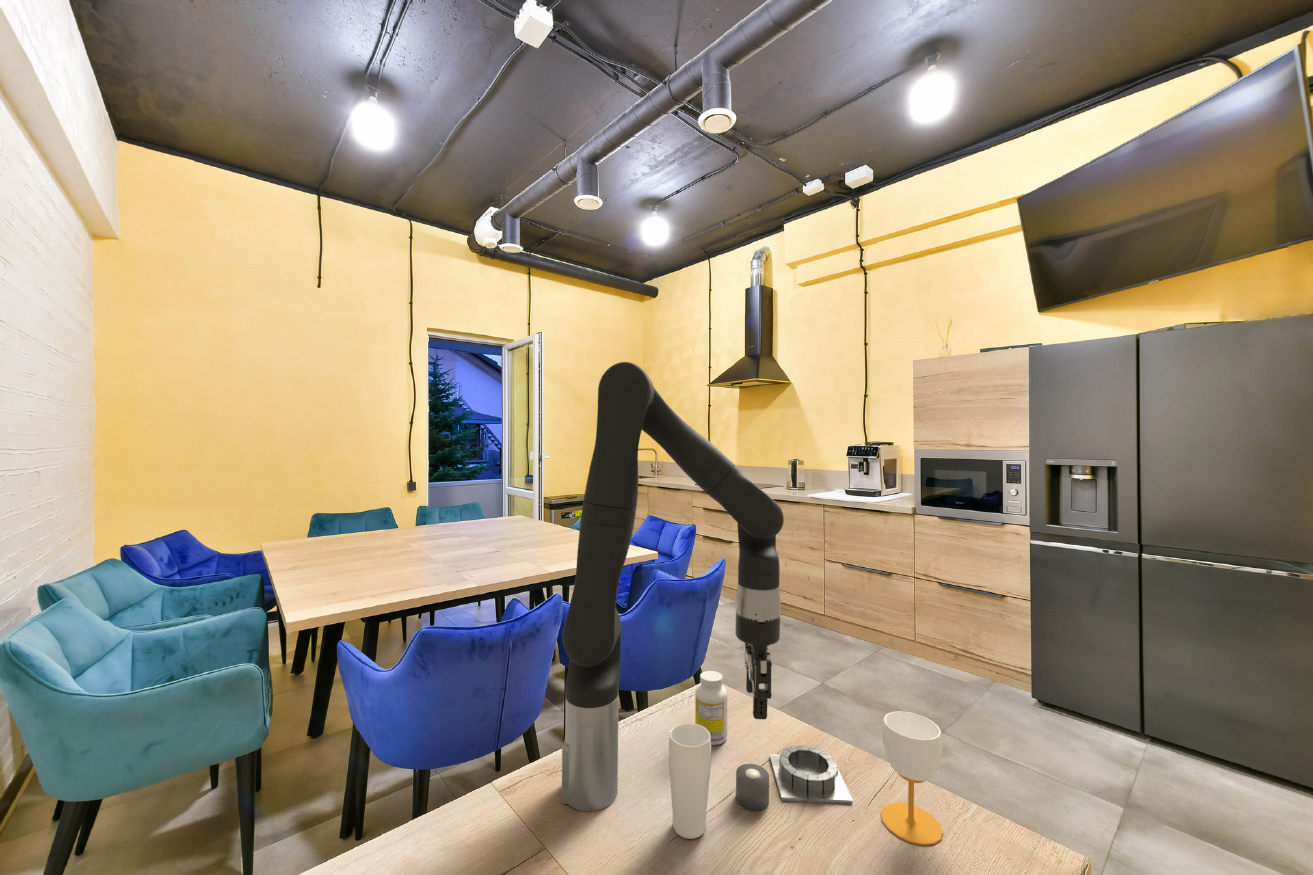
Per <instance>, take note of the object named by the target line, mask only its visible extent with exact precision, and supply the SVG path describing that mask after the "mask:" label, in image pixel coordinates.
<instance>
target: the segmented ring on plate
mask: <svg viewBox="0 0 1313 875" xmlns="http://www.w3.org/2000/svg"><path fill="white" fill-rule="evenodd" d="M768 756H769V762H770V764H771V767H772V772H773V774H774V778H775V783H776V786H777V789H778V792H779V797H780V799H781V802H799V803H800V802H802V803H803V802H804V803H825V804H826V803H827V804H828V803H829V804H847V805H848V804H851V805H852V804H853V798H852V796H851V794H850V792H849V790H848V787H847V785H846V783H845V781H844V779H843V778H842V775H841V773H840V771H839V766H838V764H837V763H836V760H835V758H834V757H833V756H832V755H830V754H828V753H827V752H826V751H824V750H822V749H820V748H816V747H814V746H810V745H803V744H802V745H799V744H796V745H792V746H789V747H786V748H784V749H783V750H782V751H781V753H780V754H779V753H769V755H768Z"/></svg>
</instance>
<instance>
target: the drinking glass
mask: <svg viewBox="0 0 1313 875" xmlns="http://www.w3.org/2000/svg"><path fill="white" fill-rule="evenodd" d="M668 736H669V738H668V768H669V769H668V770H669V781H670V794H671V809H672V811H671V812H672V828H673V830H674V832H675V833H676V834H677V835H678V836H679V837H681V838H683V839H687V840H694V839H695V840H696V839H698V838H699V837H701V836H702V835H703V834H704V833H705V831H706V828H707V810H708V800H709V787H710V778H711V777H710V776H711V765H712V745H711V735H710V732H709V731H708V730H707V729H706V728H705V727H703V726H701V725H698V724H695V723H693V722H688V723H687V722H686V723H685V722H684V723H679V724H677V725H675V726H674V727H672V729H670V731H669V735H668Z"/></svg>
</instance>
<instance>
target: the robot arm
mask: <svg viewBox="0 0 1313 875" xmlns="http://www.w3.org/2000/svg"><path fill="white" fill-rule="evenodd" d="M596 414H597V417H596V431H595V432H596V434H595V441H594V442H595V443H594V448H593V451H592V452H593V453H592V457H591V461H590V465H589V469H588V475H587V478H586V479H587V480H586V485H585V490H584V491H585V492H584V495H583V496H584V497H583V502H582V508H581V516H580V524H579V533H578V542H577V543H578V544H577V552H576V553H577V554H576V568H575V570H576V571H575V580H574V583H573V584H574V586H573V591H572V594H571V598H570V602H569V607H568V611H567V614H566V618H565V623H564V625H563V629H562V634H561V635H562V645H563V648H564V651H565V653H566V655H567V657H568V659H569V663H568V670H567V674H566V680H565V693H564V694H565V724H564V725H565V728H564V730H565V732H564V733H565V734H564V736H565V737H564V740H563V741H564V742H563V745H562V747H561V804H563V805H565V804H566V805H568V806H570V807H572V809H575V810H578V811H583V812H595V811H599V810H602V809H604V808H606V807H607V806H610V805H611V804H612V803H613V802H614V801H615V799H616V798H617V795H618V787H619V785H618V784H619V776H618V775H619V687H620V685H619V683H620V675H621V655H622V654H621V653H622V651H621V650H622V648H621V647H622V646H621V645H622V621H621V615H620V614H619V611H618V609H617V595H618V590H619V582H620V579H621V575H622V573H623V569H624V566H625V563H626V559H627V556H628V552H629V549H630V545H631V541H632V536H633V532H634V527H635V520H636V513H637V508H638V506H637V505H638V496H639V494H638V493H639V445H640V438H641V435H642V431H643V432H644V433H645V434H647V435H648V436H649V437H650V438H651V439H652V440H654V442H656V443H657V444H658V445H659V446H660V447H661V448H662V450H664V451H665V453H666V454H667V455H668V456H669V457H670V458H671V459H672V460H673V461H674V462H675V463H676V465H677V466H678V467H679V468H680V469H681V470H682V471H683V472H684V473H685V475H687V477H689V479H691V480H692V481H693V482H694V483H695V484H696V486H698V487H699V488H700V489H701V490H702V491H703V492H704V493H705V494H707V495H708V496H709V497H710V498H711V499H713V500H714V501H715V502H717V503H718V504H719V505H721V507H722V508H723V509H724V510H725V511H726V512H727V513H728V515H730V516H731V518H733V520H734V521H735V522H736V523H737V536H738V539H737V540H738V548H739V549H738V550H739V553H738V554H739V555H738V565H737V566H738V568H737V569H738V570H737V574H738V575H737V588H736V596H735V597H736V598H735V633H734V634H735V637H736V638H737V639H738V640H739V641H741V642H743V643H744V646H743V651H744V653H743V661H744V664H745V665H744V668H745V671H746V673H745V674H746V675H745V676H746V677H745V678H746V680H745V681H746V682H745V689H746V690H745V691H747V692H746V693H749V694H752V696H753V697H752V698H753V699H752V702H753V703H752V704H753V705H752V716H753V718H754V719H755V720H766V719H767V718H768V700H771V699H772V695H773V693H772V666H773V663H772V660H771V658H772V657H771V652H769V651H768V649H769V648H768V647H769V646H771V645H775V644H777V643H778V642H779V640H780V637H781V636H780V634H781V593H780V574H781V573H780V570H781V569H780V558H779V554H778V552H777V547H776V546H777V535H778V534H779V533H780V531H781V530H782V529H783V525H784V523H785V522H784V521H785V519H784V512H783V510H782V508H781V506H780V505H779V504H778V502H776V500H775V499H773V498H772V497H771V496H770V495H769V494H767V493H766V492H765V491H764V490H762V489H761V488H760V487H759V486H758V485H757V484H755V482H753V481H752V480H750V479H749V478H748V477H747V476H746V475H745V474H744V473H743V472H742V470H741V469H740V468H739V467H738V466H737V465H736V464H735V463H734V462H733V461H732V460H730V458H729V457H728V456H726V455H725V453H723V452H722V451H721V450H720V449H719V448H718V447H717V446H715V445H714V444H713V443H712V442H711V441H709V440H708V439H707V438H706V437H705V436H703V435H702V434H701V433H700V432H698V431H697V430H696V429H694V428H693V427H692V426H690V425H689V424H688V423H687V422H686V421H685V420H683V418H682V417H681V416H680V415H679V414H677V412H675V411H674V409H673V408H671V407H670V405H669V404H668V403H667V402H666V401H665V399H664V398H663V397H662V396H661V394H660V392H658V390H657V389H656V388H655V386H654V383H653V381H652V379H651V377H650V376H649V374H648V373H647V371H645V369H643V368H642V367H641V366H639V365H638V364H635V363H633V362H631V361H630V362H629V361H620V362H617V363H615V364H612V365H611V366H609V368H607V369H606V371H604V373H603V375H602V376H601V378H600V379H599V383H598V388H597V413H596ZM760 685H763V686H764V688H760Z"/></svg>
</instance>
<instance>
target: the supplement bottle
mask: <svg viewBox="0 0 1313 875" xmlns="http://www.w3.org/2000/svg"><path fill="white" fill-rule="evenodd" d="M699 677H700V678H699V679H700V680H699V682H700V684H699V685H698V686H697V687H696V689H695V696H694V697H695V702H694V704H695V718H694V719H695V720H694V722H695V723H694V724H698V725H701V726H703V727H705V728H706V729H707V730H708V731H709V732H710V735H711V746H719V745H721V744H723V743H724V742H725V741H726V740H727V738H728V691H727V689H726V687H725V686H724V685H723V682H724V679H723V678H724V677H723V674H722V673H720V672H719V671H713V670H706V671H703V672H701V673H700V675H699Z"/></svg>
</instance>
